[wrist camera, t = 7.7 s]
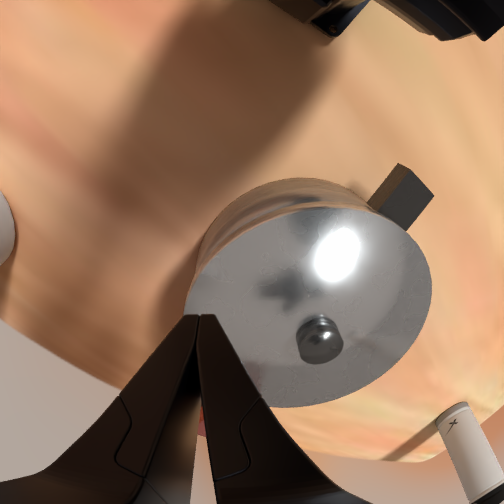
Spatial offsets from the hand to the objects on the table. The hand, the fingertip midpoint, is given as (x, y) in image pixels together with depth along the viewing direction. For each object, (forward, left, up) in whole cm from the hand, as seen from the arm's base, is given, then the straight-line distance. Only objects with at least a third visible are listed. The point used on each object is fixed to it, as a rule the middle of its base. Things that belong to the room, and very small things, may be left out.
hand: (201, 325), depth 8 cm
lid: (+5, +8, -7) cm, 12 cm away
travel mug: (+9, +48, -12) cm, 50 cm away
